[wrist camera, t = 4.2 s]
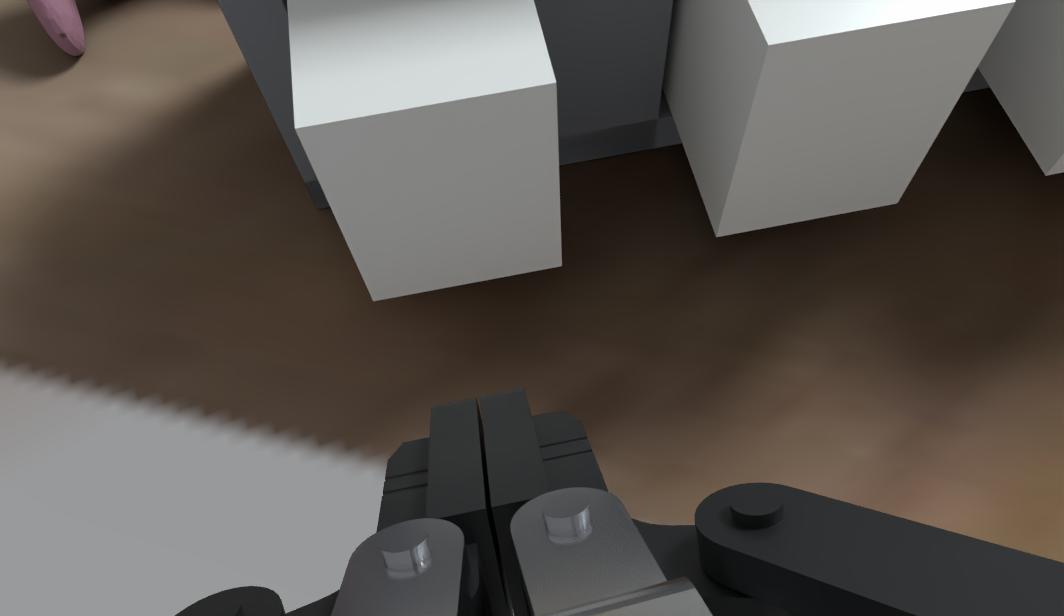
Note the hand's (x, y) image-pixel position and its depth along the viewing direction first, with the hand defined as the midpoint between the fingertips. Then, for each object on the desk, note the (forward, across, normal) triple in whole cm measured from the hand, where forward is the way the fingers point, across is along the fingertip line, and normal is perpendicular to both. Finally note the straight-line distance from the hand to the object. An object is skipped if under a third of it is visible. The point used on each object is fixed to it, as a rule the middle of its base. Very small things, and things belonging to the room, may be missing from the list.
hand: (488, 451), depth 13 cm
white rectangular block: (+16, 0, -3) cm, 16 cm away
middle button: (+16, -11, -3) cm, 20 cm away
